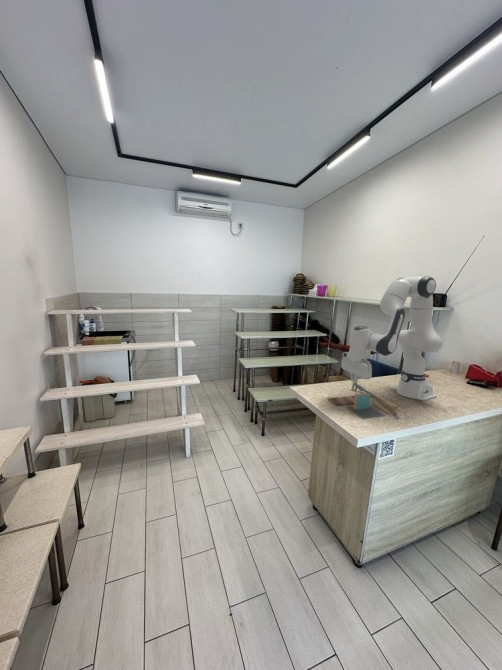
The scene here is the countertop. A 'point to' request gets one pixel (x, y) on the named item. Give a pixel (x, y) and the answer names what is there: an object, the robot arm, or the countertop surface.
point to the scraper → (387, 407)
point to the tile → (361, 401)
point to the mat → (366, 412)
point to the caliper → (362, 389)
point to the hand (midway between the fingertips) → (353, 381)
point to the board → (342, 400)
